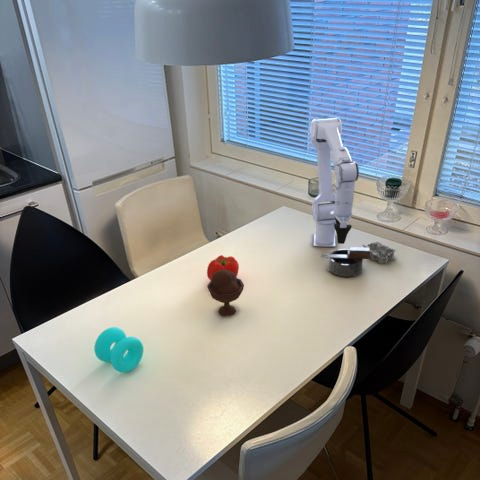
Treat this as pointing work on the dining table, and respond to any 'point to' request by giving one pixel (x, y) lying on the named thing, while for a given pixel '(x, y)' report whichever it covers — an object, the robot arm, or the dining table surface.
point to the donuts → (118, 349)
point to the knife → (351, 254)
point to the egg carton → (380, 252)
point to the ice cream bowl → (225, 290)
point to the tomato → (222, 265)
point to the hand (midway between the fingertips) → (340, 237)
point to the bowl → (344, 264)
